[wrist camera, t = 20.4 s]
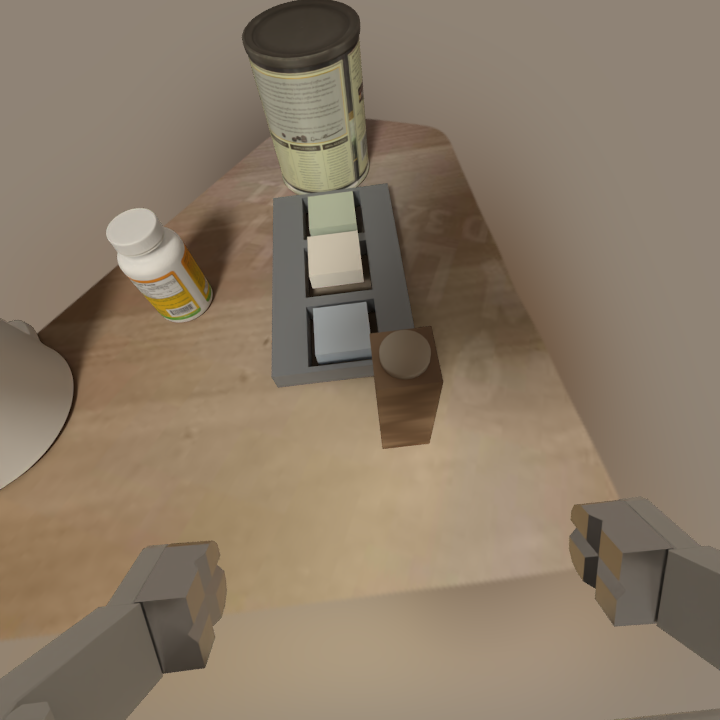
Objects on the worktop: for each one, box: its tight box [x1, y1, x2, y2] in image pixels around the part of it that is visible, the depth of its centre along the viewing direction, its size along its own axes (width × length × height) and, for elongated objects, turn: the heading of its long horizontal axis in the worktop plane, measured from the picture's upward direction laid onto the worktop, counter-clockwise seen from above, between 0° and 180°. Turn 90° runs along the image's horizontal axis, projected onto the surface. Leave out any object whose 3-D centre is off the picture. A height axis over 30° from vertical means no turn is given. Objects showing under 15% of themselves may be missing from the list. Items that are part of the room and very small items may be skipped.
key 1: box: [313, 302, 372, 365], centre depth 35 cm, size 5×5×2 cm
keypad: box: [272, 183, 414, 387], centre depth 39 cm, size 12×21×2 cm, turn 5°
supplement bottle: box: [106, 208, 213, 322], centre depth 36 cm, size 5×5×10 cm
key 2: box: [308, 191, 357, 236], centre depth 42 cm, size 5×5×2 cm
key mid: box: [307, 230, 364, 288], centre depth 37 cm, size 5×5×2 cm
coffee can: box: [242, 0, 369, 195], centre depth 42 cm, size 10×10×14 cm
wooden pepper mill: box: [369, 326, 443, 449], centre depth 28 cm, size 4×4×12 cm
